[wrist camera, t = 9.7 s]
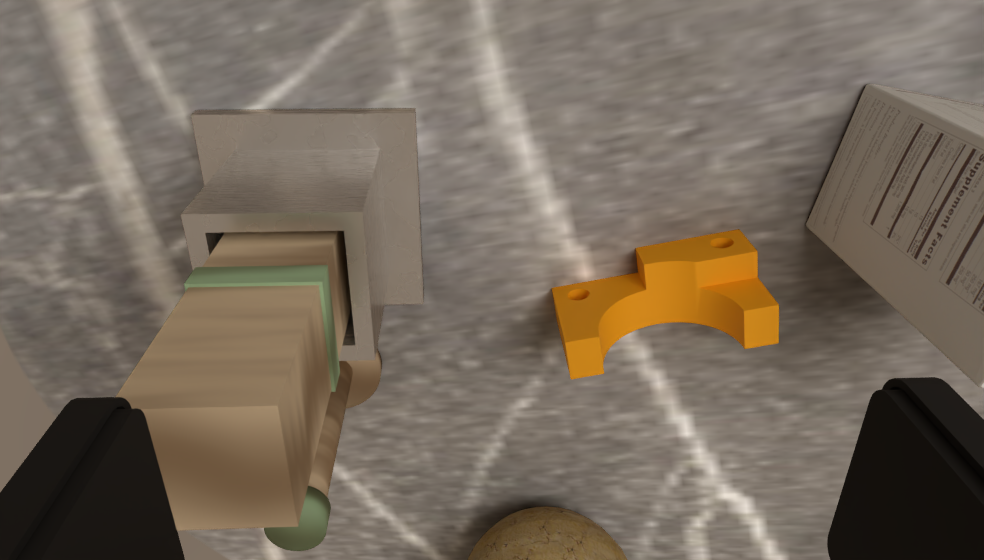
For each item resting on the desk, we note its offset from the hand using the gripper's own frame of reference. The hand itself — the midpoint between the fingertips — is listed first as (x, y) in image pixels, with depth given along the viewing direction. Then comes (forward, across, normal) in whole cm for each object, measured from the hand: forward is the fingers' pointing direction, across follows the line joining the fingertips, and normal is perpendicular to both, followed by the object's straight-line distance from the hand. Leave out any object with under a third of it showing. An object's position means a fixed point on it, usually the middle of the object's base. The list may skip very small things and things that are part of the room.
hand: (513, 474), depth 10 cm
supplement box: (+34, -26, +8) cm, 43 cm away
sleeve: (+33, +9, +10) cm, 36 cm away
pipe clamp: (+34, -11, +15) cm, 38 cm away
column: (+26, +9, +10) cm, 29 cm away
